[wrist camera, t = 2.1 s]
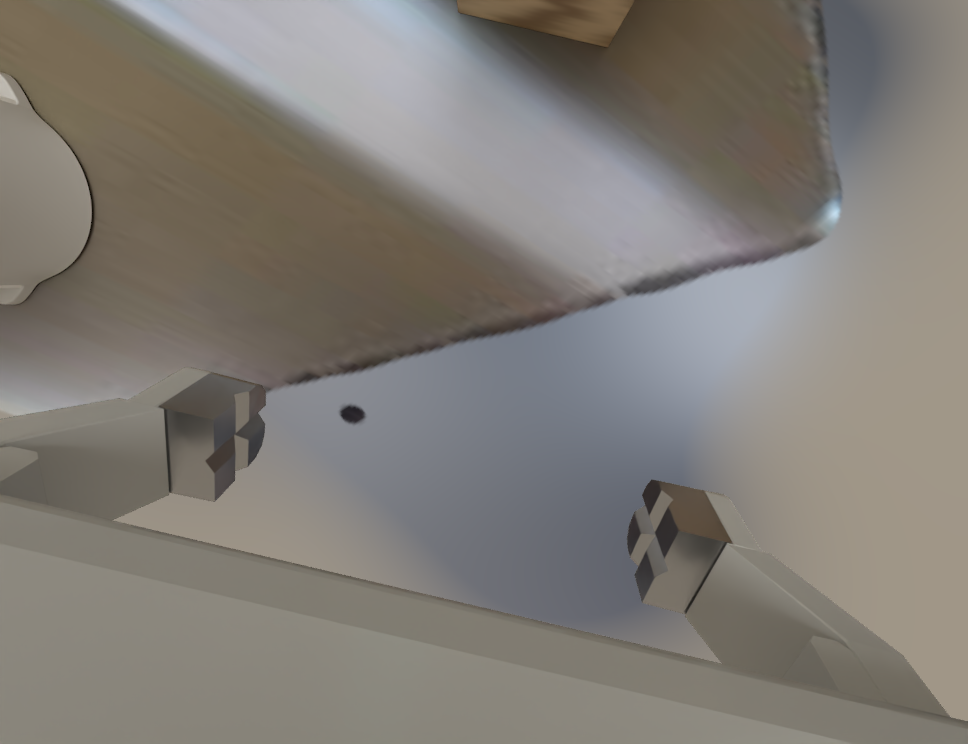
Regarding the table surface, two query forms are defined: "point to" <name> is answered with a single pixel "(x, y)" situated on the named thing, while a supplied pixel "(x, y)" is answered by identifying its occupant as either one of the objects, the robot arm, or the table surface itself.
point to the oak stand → (556, 16)
